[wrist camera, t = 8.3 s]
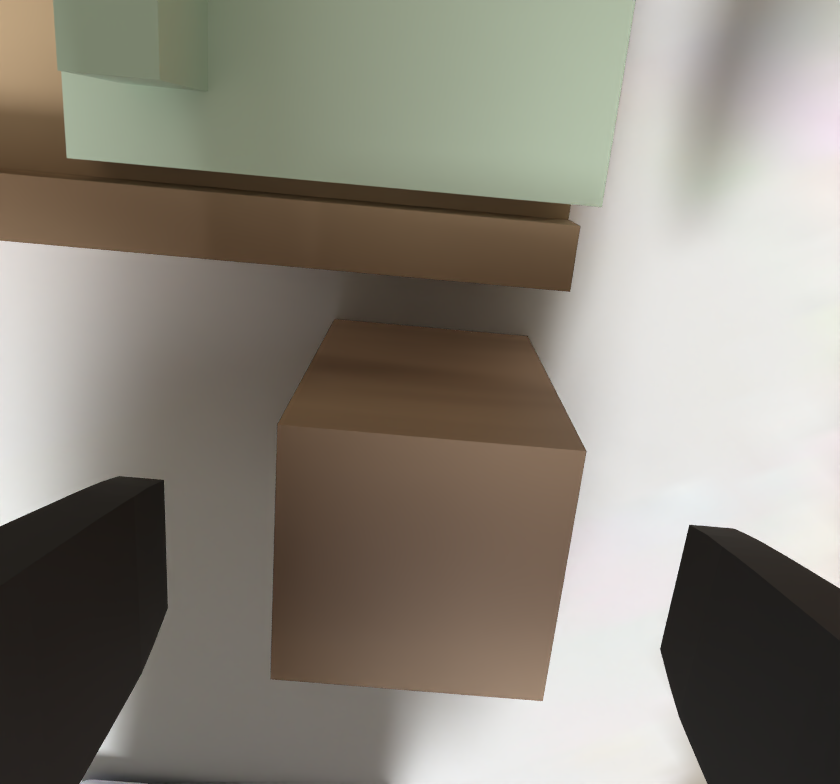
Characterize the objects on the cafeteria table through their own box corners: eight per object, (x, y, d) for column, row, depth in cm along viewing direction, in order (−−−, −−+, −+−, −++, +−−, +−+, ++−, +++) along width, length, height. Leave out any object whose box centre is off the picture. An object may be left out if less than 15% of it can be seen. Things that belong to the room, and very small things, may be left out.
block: (503, 508, 16) (542, 701, 11) (326, 493, 16) (270, 679, 11) (527, 335, 15) (586, 451, 9) (334, 318, 15) (277, 424, 9)
